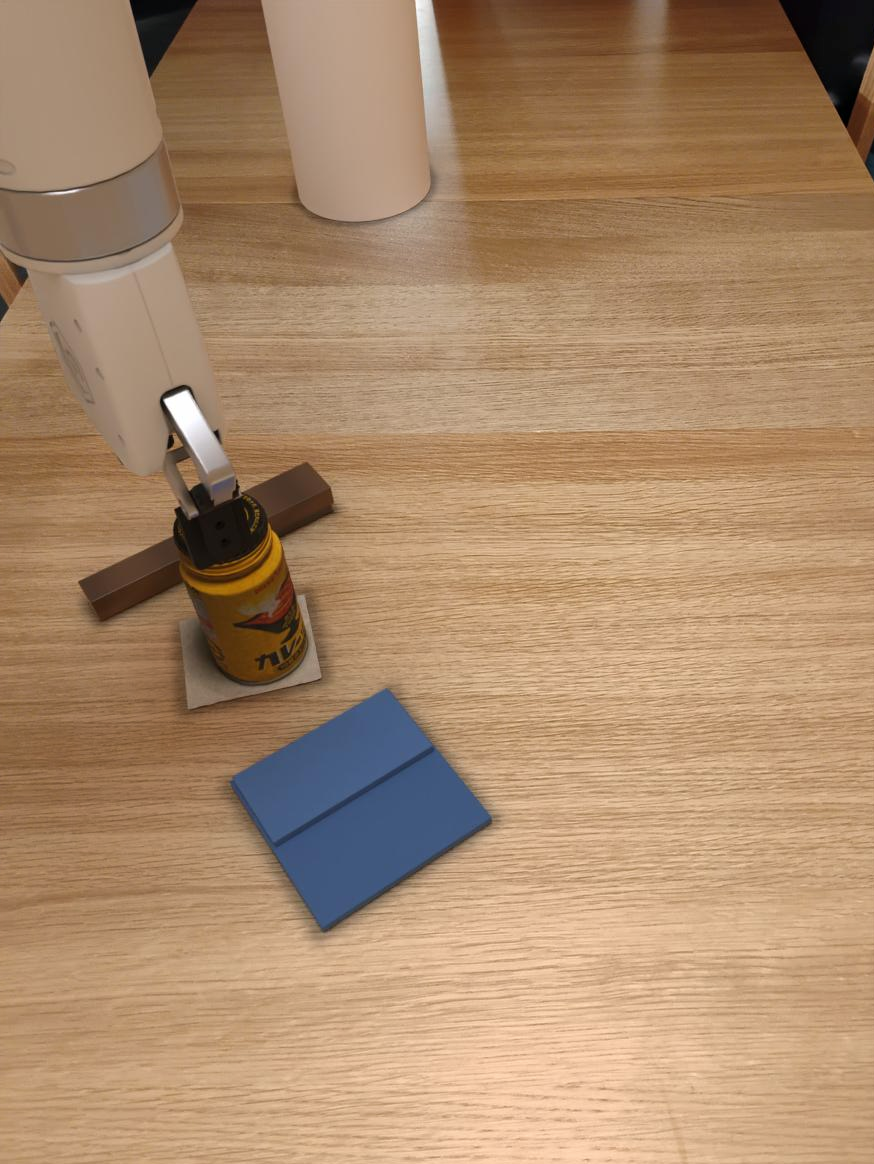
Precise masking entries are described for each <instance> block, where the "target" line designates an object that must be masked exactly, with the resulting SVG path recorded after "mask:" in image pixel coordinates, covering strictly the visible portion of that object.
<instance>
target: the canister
mask: <svg viewBox="0 0 874 1164" xmlns="http://www.w3.org/2000/svg"><path fill="white" fill-rule="evenodd" d="M261 7H262V12H263V13H262V14H263V17H264V22H265V28H266V33H267V38H268V43H269V48H270V53H271V58H272V63H273V69H274V74H275V79H276V85H277V90H278V95H279V101H280V105H281V111H282V116H283V121H284V126H285V132H286V136H287V142H288V148H289V152H290V157H291V163H292V167H293V173H294V178H295V183H296V189H297V194H298V199H299V201H300V203H301V204H302V205H303V207H304V208H305V209H306V210H307V211H309V212H310V213H312V214H314V215H316V216H319V217H322V218H325V219H329V220H332V221H340V222H350V223H351V222H352V223H354V222H355V223H357V222H359V223H360V222H370V221H377V220H382V219H387V218H391V217H394V216H397V215H399V214H402V213H404V212H406V211H408V210H410V209H412V208H414V207H415V206H417V205H418V204H420V203H421V202H422V201H423V200H424V199H425V197H426V196H427V195H428V194H429V192H430V189H431V185H432V184H431V183H432V181H431V168H430V158H429V157H430V156H429V145H428V134H427V123H426V111H425V99H424V88H423V74H422V63H421V50H420V39H419V27H418V16H417V15H418V14H417V4H416V0H261Z"/></svg>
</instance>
